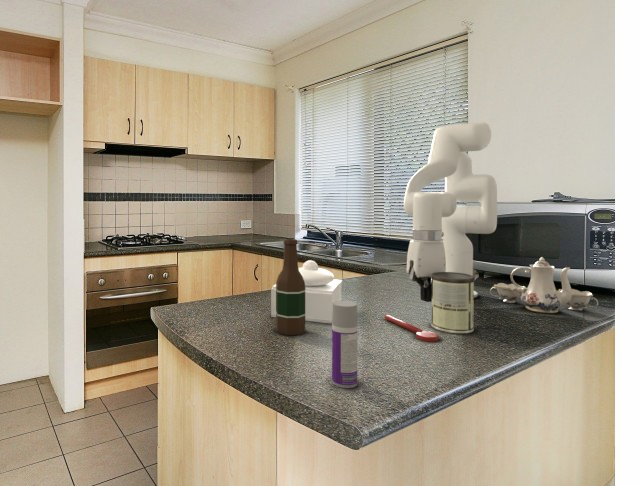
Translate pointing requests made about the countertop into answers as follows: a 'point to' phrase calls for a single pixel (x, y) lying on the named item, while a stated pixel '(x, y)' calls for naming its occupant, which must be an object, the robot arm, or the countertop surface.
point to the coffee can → (453, 302)
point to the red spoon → (414, 329)
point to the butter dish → (316, 293)
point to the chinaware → (544, 290)
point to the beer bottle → (290, 293)
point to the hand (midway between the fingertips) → (426, 300)
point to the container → (344, 344)
